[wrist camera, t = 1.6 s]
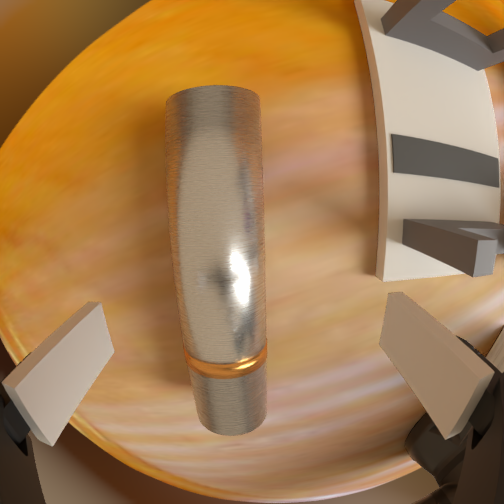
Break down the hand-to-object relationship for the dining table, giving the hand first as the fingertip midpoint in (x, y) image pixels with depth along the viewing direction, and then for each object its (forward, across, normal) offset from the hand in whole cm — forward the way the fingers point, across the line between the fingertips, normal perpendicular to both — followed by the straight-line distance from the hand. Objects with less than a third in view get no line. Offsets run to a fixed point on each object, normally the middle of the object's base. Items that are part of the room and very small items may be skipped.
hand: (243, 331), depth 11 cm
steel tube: (+7, +2, 0) cm, 7 cm away
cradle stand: (+10, -18, -12) cm, 24 cm away
